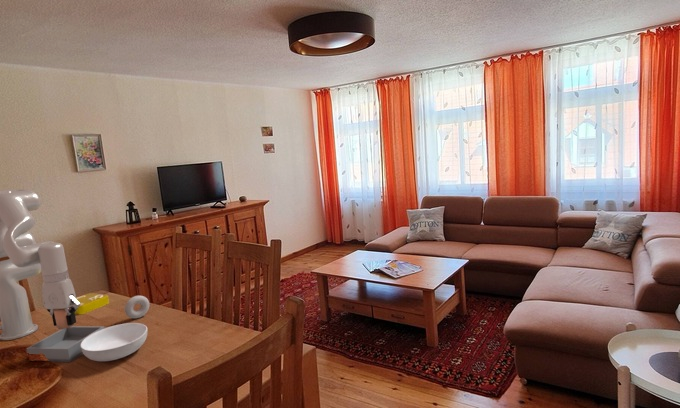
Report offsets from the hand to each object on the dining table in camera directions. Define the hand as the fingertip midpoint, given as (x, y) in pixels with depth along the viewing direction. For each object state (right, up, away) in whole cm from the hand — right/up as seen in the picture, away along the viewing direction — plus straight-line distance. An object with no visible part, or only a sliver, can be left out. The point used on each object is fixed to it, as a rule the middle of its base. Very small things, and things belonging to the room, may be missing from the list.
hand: (65, 323), depth 144 cm
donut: (+14, -6, +26) cm, 30 cm away
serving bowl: (+22, -10, -4) cm, 24 cm away
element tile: (-21, -6, +44) cm, 49 cm away
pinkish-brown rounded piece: (0, -1, 0) cm, 1 cm away
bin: (+1, -10, +2) cm, 10 cm away
